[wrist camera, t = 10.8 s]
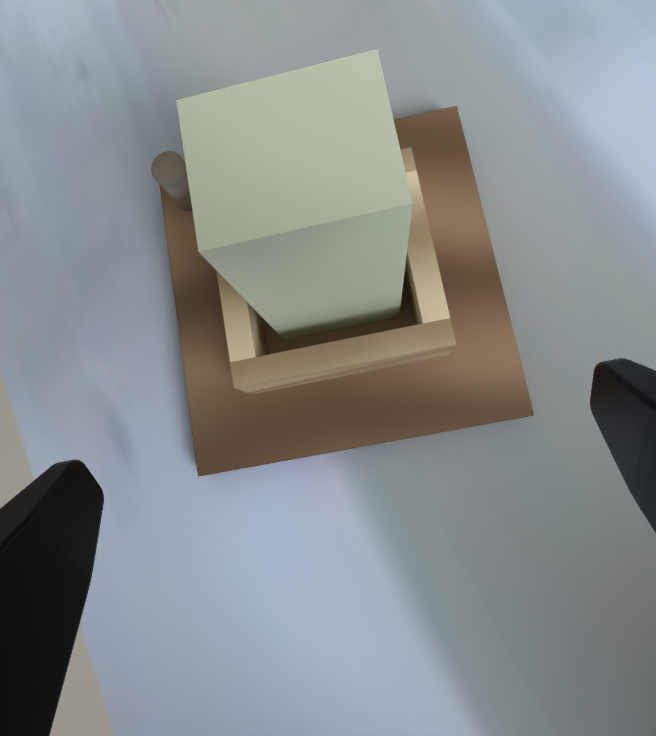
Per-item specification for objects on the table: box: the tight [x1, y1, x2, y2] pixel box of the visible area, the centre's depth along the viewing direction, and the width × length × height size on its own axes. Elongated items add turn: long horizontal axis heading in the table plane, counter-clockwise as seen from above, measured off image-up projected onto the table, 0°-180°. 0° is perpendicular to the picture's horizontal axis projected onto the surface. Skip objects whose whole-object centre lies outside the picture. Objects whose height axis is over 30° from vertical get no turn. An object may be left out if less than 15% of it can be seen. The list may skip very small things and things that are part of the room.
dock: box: [151, 106, 534, 476], centre depth 21 cm, size 14×14×4 cm
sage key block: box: [176, 49, 413, 340], centre depth 16 cm, size 4×5×10 cm
